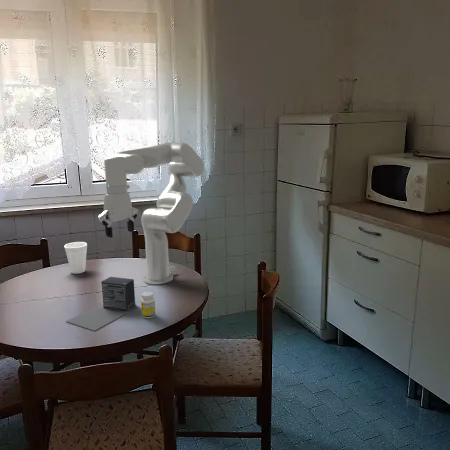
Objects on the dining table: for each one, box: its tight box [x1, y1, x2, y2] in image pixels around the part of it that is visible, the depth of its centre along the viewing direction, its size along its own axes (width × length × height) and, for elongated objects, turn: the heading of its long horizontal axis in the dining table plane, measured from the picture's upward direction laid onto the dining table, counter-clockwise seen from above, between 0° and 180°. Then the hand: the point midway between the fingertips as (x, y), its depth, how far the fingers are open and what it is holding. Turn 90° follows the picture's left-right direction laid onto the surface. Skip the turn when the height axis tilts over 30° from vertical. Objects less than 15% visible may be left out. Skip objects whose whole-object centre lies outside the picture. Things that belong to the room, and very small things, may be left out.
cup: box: [63, 241, 88, 274], centre depth 202 cm, size 10×10×13 cm
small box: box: [100, 276, 136, 312], centre depth 164 cm, size 11×6×10 cm, turn 71°
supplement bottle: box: [140, 291, 156, 319], centre depth 156 cm, size 5×5×8 cm
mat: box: [65, 306, 125, 332], centre depth 156 cm, size 14×14×1 cm
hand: (120, 234), depth 168 cm, fingers open, 9 cm apart
